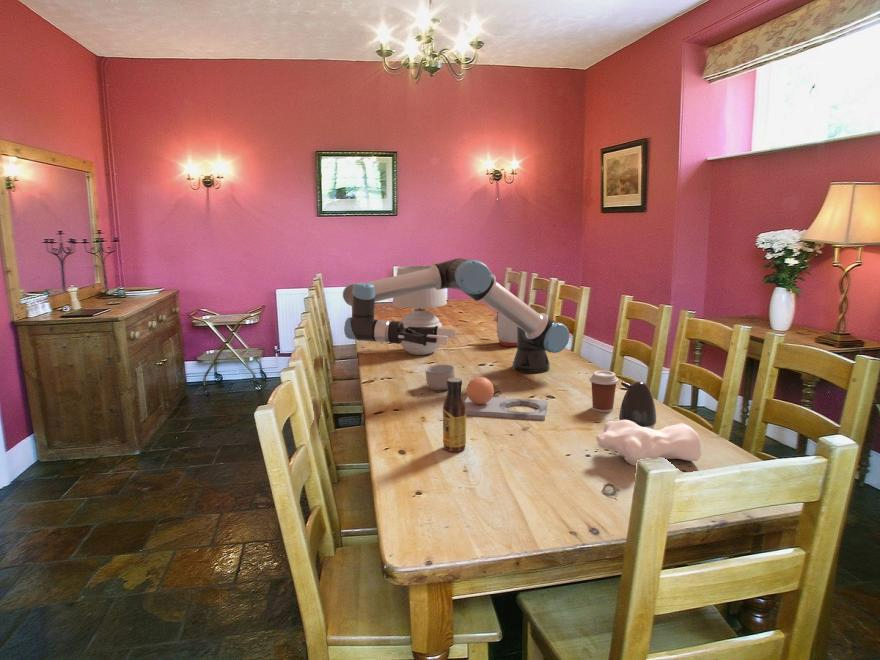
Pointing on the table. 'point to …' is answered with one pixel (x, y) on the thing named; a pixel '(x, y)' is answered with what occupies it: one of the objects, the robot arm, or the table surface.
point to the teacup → (439, 376)
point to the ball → (480, 390)
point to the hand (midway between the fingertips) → (451, 337)
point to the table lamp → (419, 311)
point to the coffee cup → (603, 390)
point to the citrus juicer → (506, 331)
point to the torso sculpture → (650, 441)
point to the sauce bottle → (454, 417)
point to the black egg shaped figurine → (638, 405)
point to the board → (500, 408)
